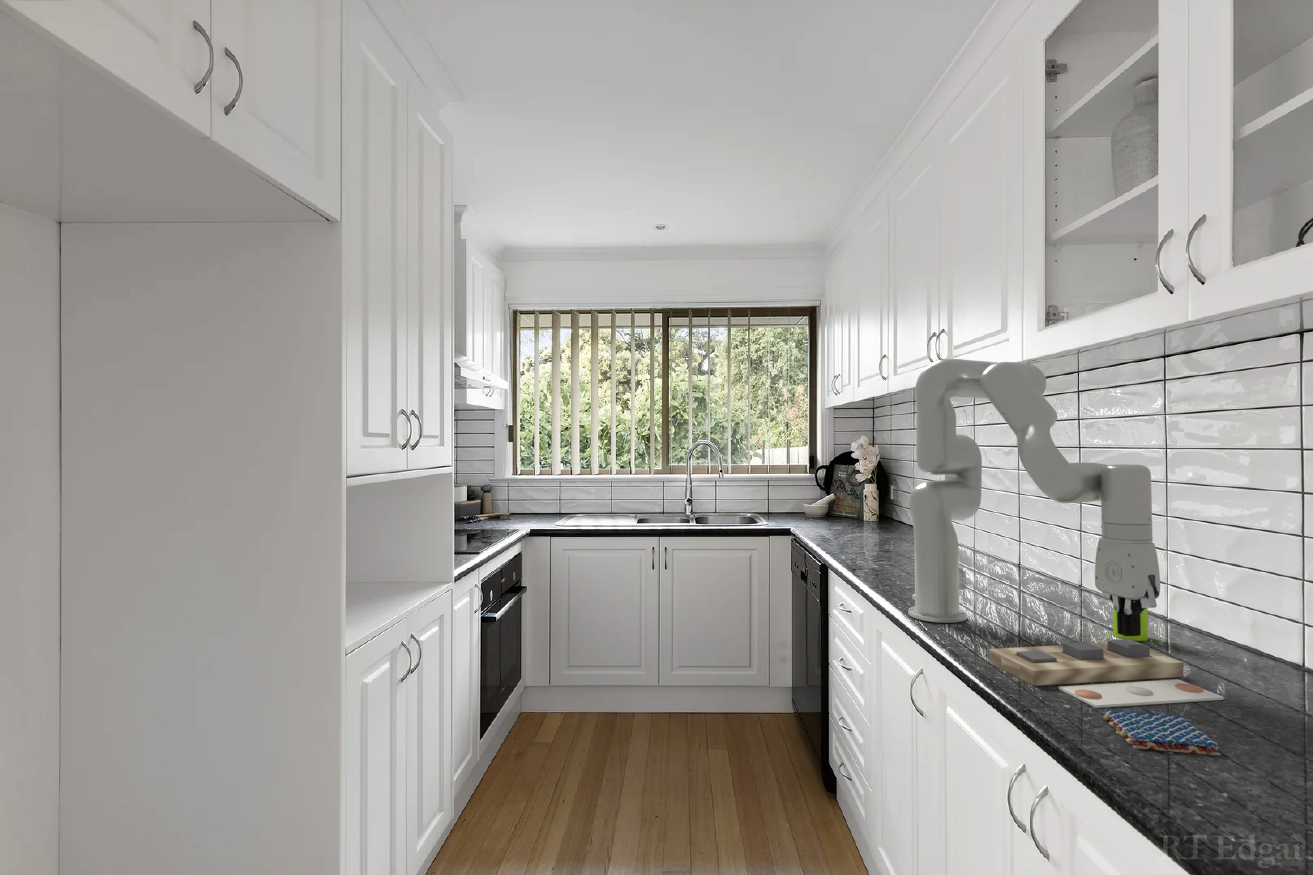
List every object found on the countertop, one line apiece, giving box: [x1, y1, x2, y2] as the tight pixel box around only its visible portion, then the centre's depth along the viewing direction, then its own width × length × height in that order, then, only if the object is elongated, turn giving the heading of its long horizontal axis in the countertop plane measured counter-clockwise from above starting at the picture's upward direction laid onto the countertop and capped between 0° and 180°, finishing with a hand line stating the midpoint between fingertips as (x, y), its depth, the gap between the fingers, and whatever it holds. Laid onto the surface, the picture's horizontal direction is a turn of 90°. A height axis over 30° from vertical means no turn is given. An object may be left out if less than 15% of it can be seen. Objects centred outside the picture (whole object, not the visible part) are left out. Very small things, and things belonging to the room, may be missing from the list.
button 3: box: [1107, 639, 1151, 658], centre depth 121 cm, size 4×4×2 cm
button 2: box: [1062, 641, 1104, 661], centre depth 120 cm, size 4×4×2 cm
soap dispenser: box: [1112, 601, 1149, 642], centre depth 139 cm, size 6×7×20 cm
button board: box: [988, 642, 1184, 687], centre depth 120 cm, size 28×12×2 cm, turn 97°
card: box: [1058, 678, 1224, 709], centre depth 108 cm, size 22×8×1 cm, turn 97°
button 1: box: [1017, 650, 1057, 663], centre depth 119 cm, size 4×4×2 cm
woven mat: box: [1102, 708, 1222, 756], centre depth 93 cm, size 10×11×2 cm
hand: (1129, 634), depth 121 cm, fingers closed
